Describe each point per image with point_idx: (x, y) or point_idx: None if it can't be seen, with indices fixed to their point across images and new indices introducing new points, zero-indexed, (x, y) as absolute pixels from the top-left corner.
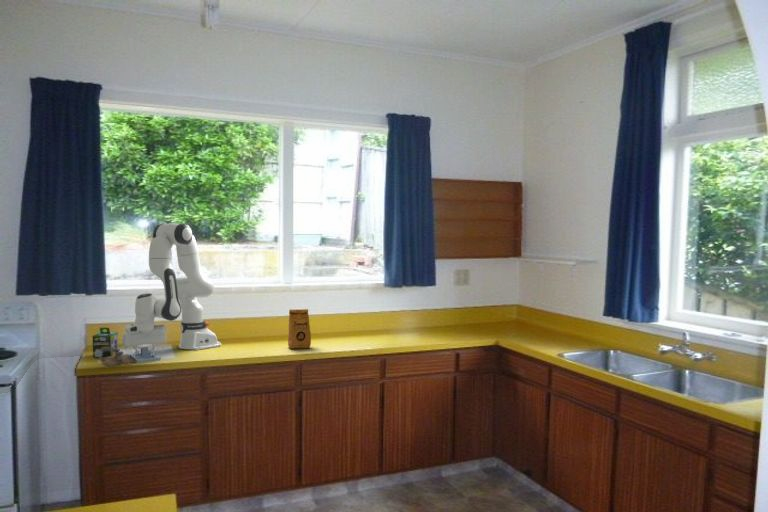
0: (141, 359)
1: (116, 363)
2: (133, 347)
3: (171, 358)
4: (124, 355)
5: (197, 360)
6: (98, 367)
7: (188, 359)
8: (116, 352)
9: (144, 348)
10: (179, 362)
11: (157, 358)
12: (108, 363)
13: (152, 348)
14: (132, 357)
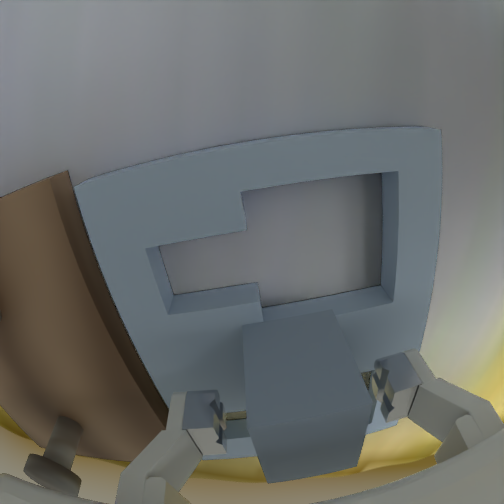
0: (242, 452)
1: (77, 452)
2: (128, 476)
3: (464, 378)
4: (27, 242)
5: (499, 415)
6: (9, 422)
7: (495, 401)
8: (30, 477)
9: (302, 467)
10: (434, 447)
11: (374, 427)
12: (36, 440)
13: (417, 415)
14: (141, 351)
